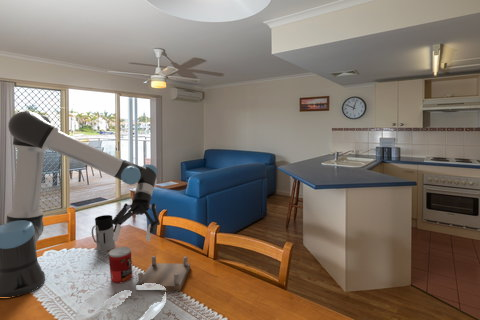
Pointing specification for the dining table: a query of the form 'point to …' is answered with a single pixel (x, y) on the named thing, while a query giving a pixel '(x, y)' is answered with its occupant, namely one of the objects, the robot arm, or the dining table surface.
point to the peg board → (166, 274)
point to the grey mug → (104, 233)
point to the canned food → (120, 264)
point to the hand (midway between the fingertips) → (131, 240)
